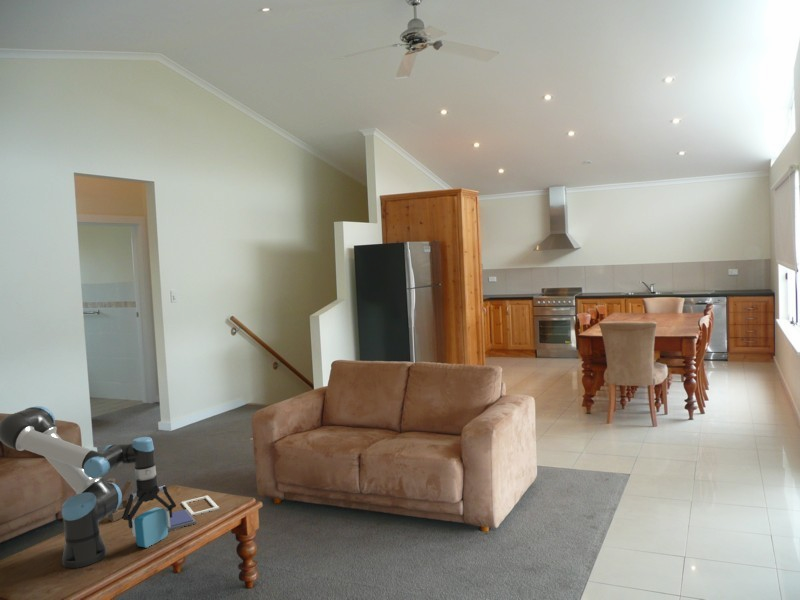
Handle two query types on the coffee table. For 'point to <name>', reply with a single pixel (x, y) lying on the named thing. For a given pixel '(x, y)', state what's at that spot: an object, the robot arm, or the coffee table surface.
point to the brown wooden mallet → (125, 497)
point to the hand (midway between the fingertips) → (151, 530)
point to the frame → (202, 510)
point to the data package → (151, 527)
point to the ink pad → (181, 519)
